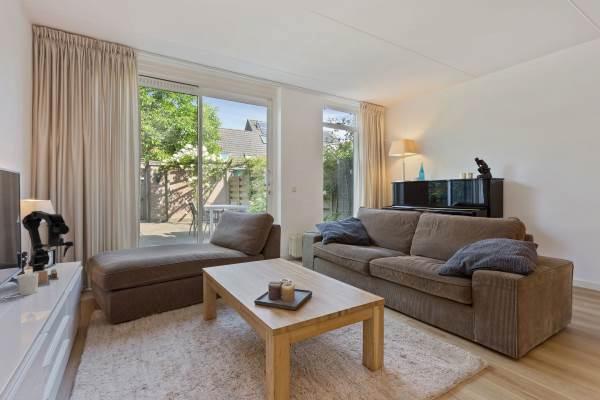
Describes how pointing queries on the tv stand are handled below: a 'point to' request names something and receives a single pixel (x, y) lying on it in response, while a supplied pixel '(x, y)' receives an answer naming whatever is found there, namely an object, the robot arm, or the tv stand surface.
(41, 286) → the mat
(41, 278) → the tile
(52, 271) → the brown wooden bar
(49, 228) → the robot arm
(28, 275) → the white cup
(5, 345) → the tv stand surface
